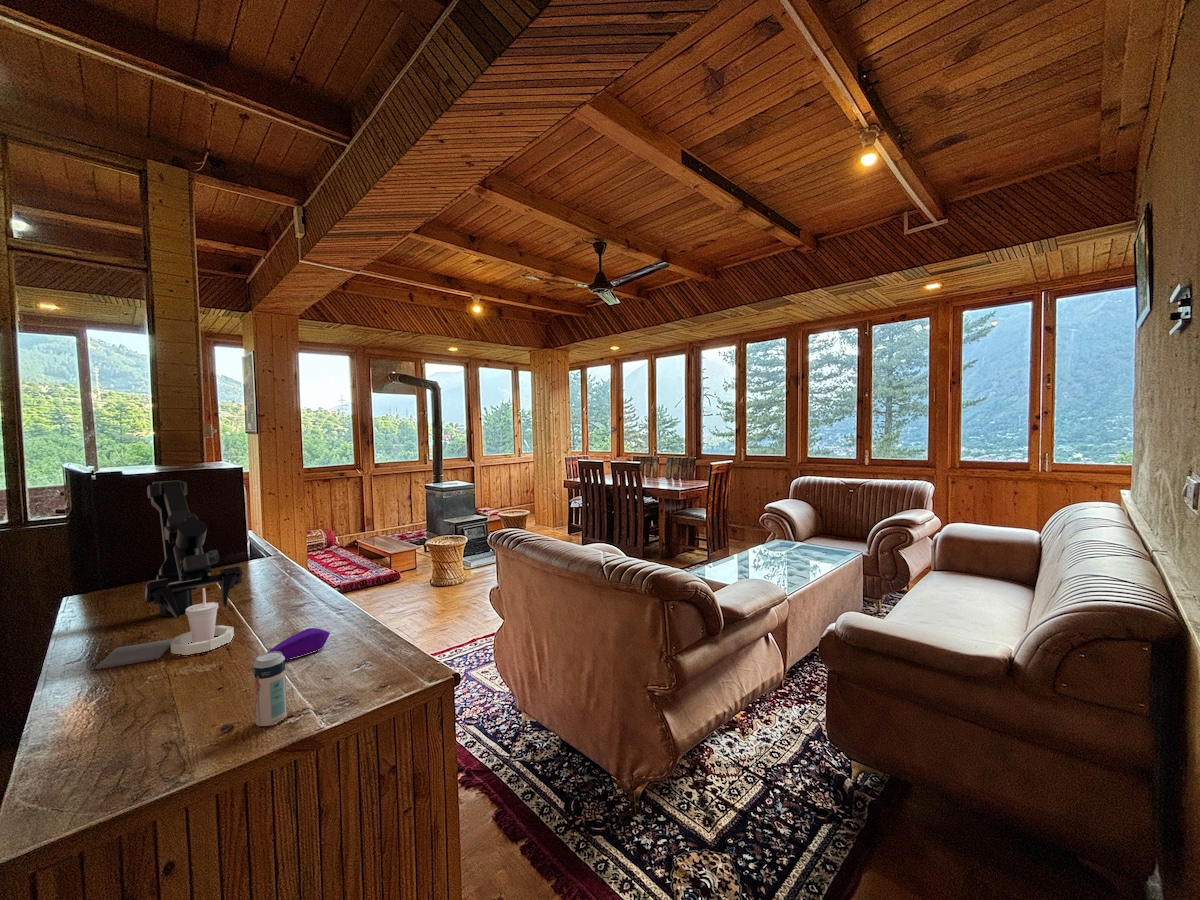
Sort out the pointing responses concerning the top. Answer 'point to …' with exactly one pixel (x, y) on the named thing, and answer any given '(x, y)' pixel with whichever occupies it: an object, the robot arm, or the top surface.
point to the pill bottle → (270, 688)
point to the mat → (135, 654)
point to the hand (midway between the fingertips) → (202, 611)
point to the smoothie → (202, 619)
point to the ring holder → (184, 648)
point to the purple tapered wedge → (302, 643)
